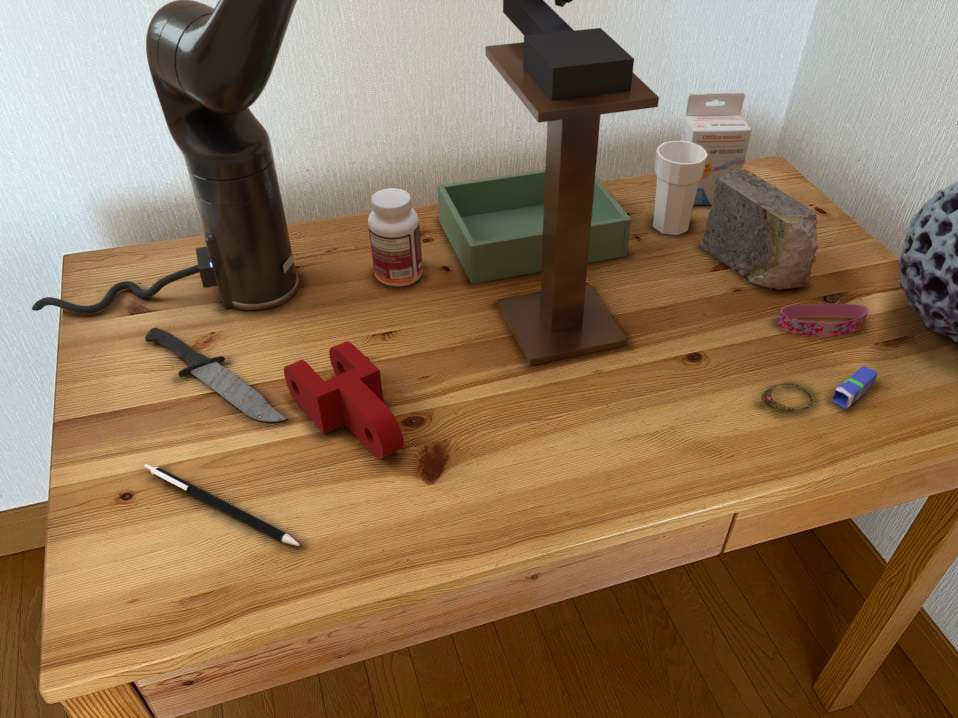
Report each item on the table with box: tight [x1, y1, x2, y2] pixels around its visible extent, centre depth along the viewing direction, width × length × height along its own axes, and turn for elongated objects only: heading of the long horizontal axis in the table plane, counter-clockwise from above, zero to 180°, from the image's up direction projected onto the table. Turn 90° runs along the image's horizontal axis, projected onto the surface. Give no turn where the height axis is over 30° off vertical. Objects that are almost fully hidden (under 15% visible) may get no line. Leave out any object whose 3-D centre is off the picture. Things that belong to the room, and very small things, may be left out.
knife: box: [144, 327, 288, 423], centre depth 94 cm, size 22×1×5 cm
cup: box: [652, 140, 708, 236], centre depth 117 cm, size 7×7×11 cm
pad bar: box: [502, 0, 635, 100], centre depth 86 cm, size 8×22×3 cm, turn 20°
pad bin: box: [437, 168, 632, 285], centre depth 115 cm, size 22×16×6 cm
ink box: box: [679, 92, 752, 206], centre depth 121 cm, size 8×5×15 cm, turn 98°
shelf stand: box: [485, 41, 660, 367], centre depth 94 cm, size 12×16×30 cm
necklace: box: [760, 383, 813, 413], centre depth 94 cm, size 4×6×1 cm, turn 110°
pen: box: [143, 463, 301, 547], centre depth 81 cm, size 1×19×1 cm
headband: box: [776, 303, 870, 338], centre depth 104 cm, size 11×4×2 cm, turn 94°
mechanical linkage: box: [283, 340, 405, 460], centre depth 88 cm, size 16×7×5 cm, turn 39°
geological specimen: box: [700, 168, 819, 291], centre depth 110 cm, size 11×6×15 cm
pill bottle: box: [367, 187, 424, 287], centre depth 106 cm, size 6×6×11 cm
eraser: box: [832, 365, 878, 410], centre depth 95 cm, size 2×6×2 cm
